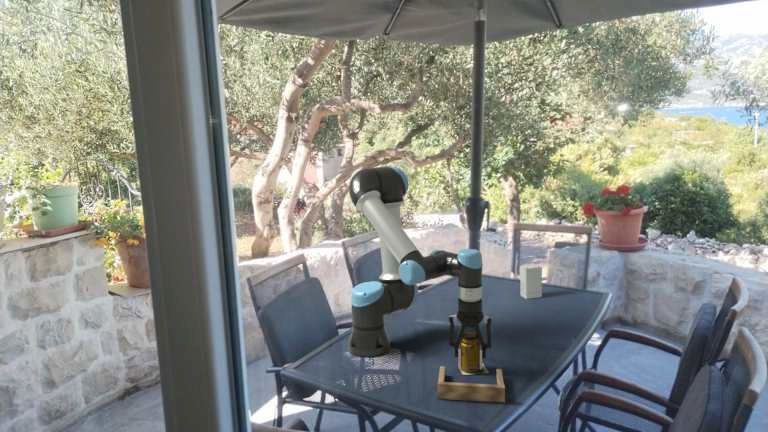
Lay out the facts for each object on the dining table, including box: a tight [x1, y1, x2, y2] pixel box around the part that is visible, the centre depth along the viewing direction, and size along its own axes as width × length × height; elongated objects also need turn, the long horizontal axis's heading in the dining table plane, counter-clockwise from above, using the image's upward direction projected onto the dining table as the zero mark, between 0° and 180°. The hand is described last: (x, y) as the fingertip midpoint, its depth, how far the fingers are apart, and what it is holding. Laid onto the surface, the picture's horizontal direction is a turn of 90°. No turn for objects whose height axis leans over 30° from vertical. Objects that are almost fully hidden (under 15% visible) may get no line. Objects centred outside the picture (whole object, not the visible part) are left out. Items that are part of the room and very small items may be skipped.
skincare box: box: [519, 263, 543, 300], centre depth 229 cm, size 8×6×15 cm
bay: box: [436, 365, 506, 403], centre depth 149 cm, size 19×14×4 cm
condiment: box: [458, 331, 489, 376], centre depth 160 cm, size 7×8×12 cm
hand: (470, 366), depth 161 cm, fingers closed on condiment, 6 cm apart
